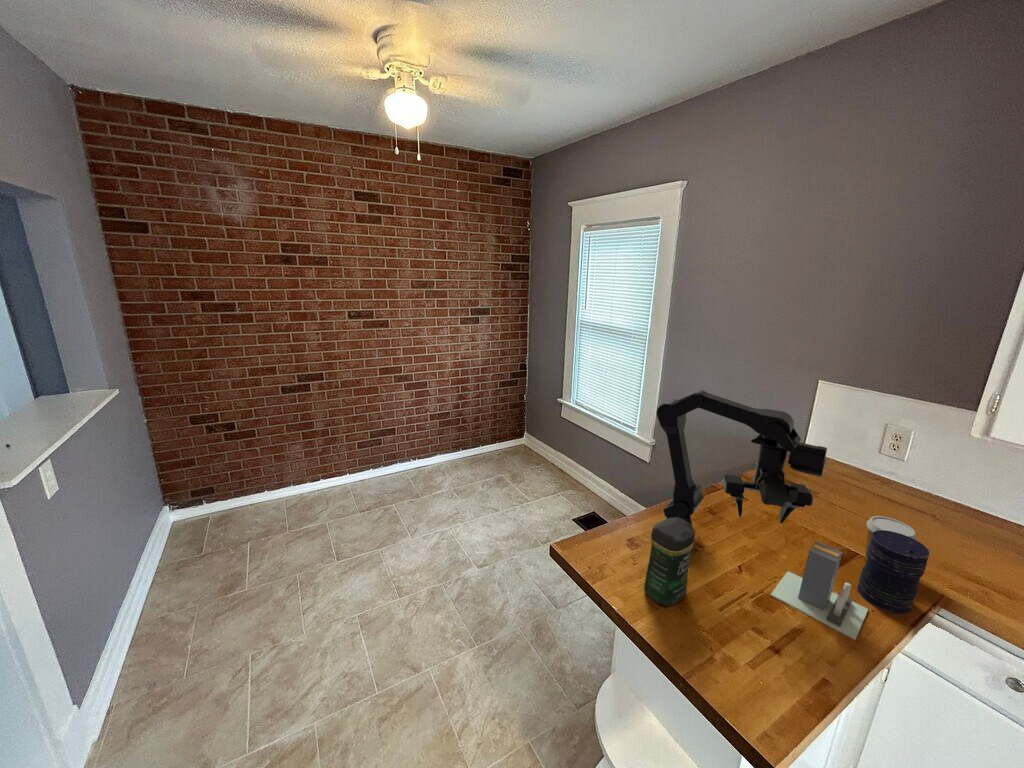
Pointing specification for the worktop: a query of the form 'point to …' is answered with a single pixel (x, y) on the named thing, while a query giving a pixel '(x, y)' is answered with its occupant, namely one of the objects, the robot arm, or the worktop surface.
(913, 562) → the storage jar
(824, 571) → the plug block
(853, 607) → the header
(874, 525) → the disposable coffee cup
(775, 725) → the worktop surface
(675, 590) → the coffee jar
